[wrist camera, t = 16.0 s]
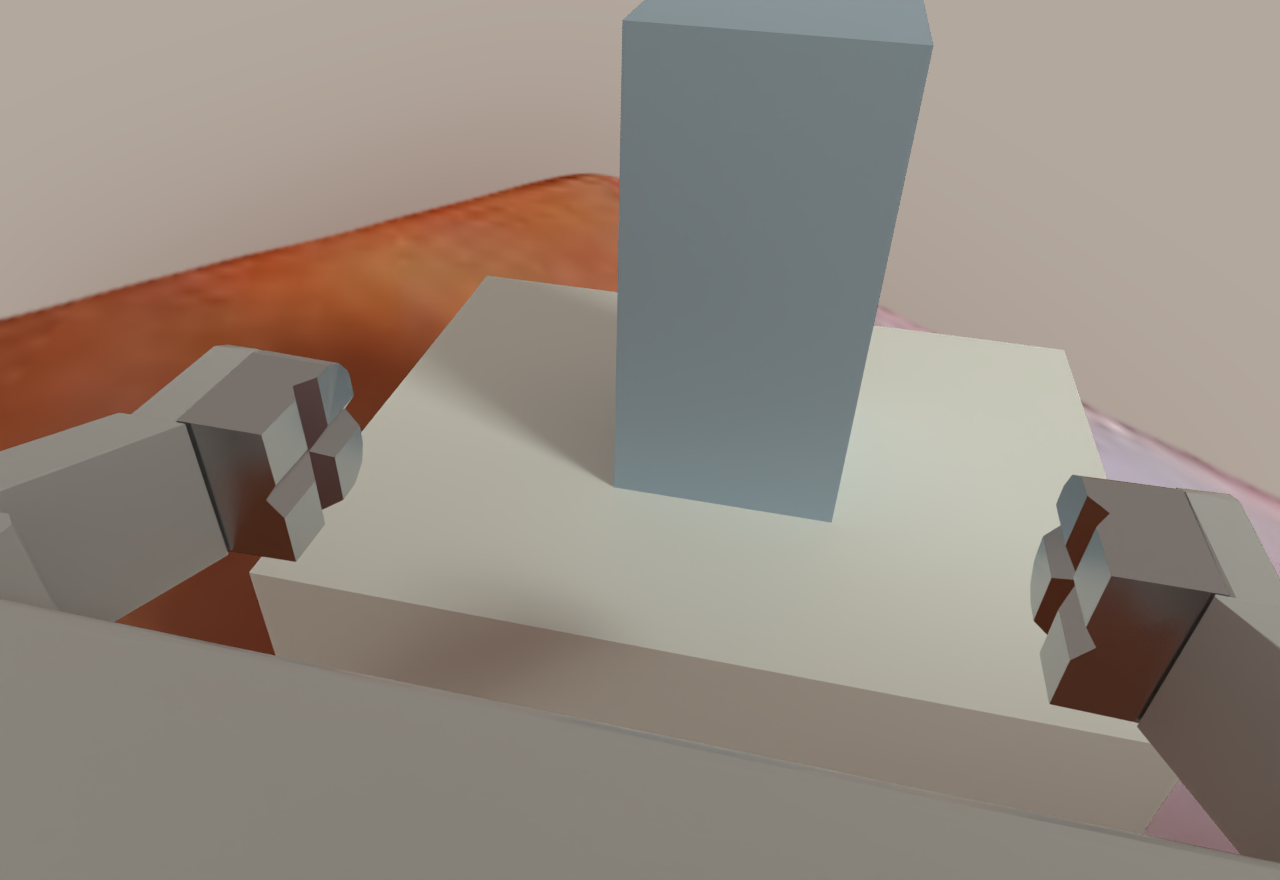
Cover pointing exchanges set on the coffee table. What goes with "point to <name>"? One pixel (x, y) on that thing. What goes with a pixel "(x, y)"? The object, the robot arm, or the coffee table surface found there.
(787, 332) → the slate block
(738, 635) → the base
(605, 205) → the coffee table surface
